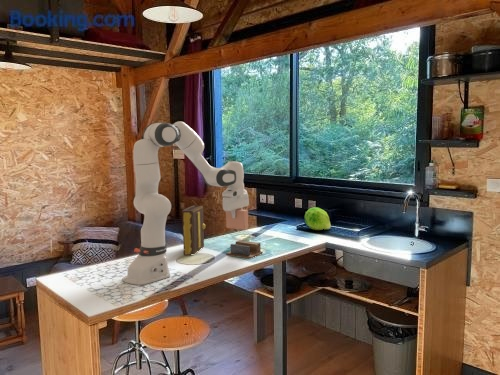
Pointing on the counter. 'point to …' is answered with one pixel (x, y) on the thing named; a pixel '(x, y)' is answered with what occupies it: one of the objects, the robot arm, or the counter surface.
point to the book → (193, 229)
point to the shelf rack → (254, 249)
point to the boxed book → (237, 219)
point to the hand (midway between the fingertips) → (237, 216)
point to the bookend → (240, 249)
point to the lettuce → (317, 219)
